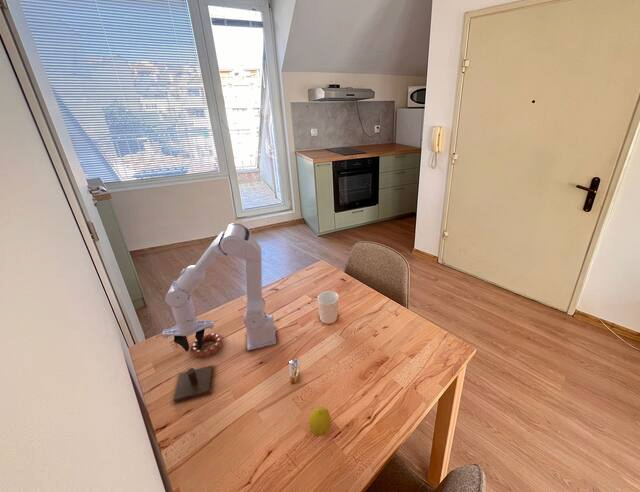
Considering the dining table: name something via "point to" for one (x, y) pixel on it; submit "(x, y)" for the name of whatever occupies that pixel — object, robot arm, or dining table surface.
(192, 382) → the stand
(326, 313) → the white cup
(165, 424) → the dining table surface
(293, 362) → the ring
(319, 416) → the lemon
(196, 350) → the hoop
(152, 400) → the dining table surface
